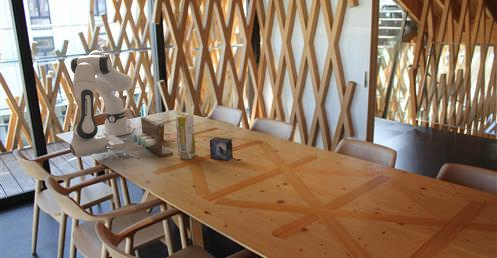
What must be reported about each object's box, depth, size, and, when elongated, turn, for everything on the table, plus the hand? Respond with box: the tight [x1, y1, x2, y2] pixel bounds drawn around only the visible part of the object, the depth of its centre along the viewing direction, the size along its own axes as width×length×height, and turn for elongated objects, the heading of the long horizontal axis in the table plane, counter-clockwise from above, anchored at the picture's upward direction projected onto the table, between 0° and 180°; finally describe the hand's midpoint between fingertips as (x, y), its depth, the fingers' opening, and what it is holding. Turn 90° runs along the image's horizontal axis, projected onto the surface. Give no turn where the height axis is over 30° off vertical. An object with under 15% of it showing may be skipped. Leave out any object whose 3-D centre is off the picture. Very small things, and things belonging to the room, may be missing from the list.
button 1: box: [132, 133, 147, 143], centre depth 238 cm, size 8×4×4 cm, turn 124°
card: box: [115, 150, 134, 160], centre depth 233 cm, size 6×12×1 cm, turn 34°
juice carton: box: [175, 112, 196, 160], centre depth 224 cm, size 9×8×24 cm
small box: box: [209, 136, 234, 162], centre depth 222 cm, size 11×6×10 cm, turn 62°
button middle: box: [136, 136, 152, 146], centre depth 232 cm, size 8×4×4 cm, turn 124°
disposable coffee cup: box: [152, 119, 166, 142], centre depth 256 cm, size 10×10×12 cm
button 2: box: [141, 138, 157, 149], centre depth 227 cm, size 8×4×4 cm, turn 124°
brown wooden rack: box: [140, 116, 174, 159], centre depth 236 cm, size 8×23×18 cm, turn 34°
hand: (127, 139), depth 234 cm, fingers closed
